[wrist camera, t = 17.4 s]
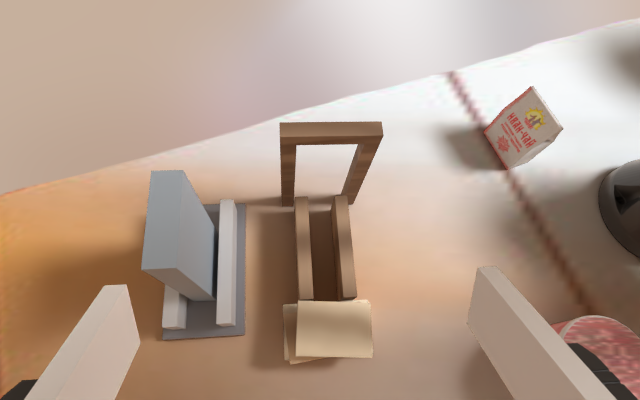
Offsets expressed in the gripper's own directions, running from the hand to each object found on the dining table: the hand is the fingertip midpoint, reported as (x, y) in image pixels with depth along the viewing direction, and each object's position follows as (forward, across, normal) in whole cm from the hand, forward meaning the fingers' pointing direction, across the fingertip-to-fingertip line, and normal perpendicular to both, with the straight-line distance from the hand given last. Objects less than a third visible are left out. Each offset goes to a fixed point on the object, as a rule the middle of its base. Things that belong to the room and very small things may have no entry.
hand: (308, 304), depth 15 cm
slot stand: (+29, -11, -17) cm, 35 cm away
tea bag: (+42, +32, -6) cm, 53 cm away
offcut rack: (+28, +3, -18) cm, 34 cm away
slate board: (+28, -11, -16) cm, 35 cm away
